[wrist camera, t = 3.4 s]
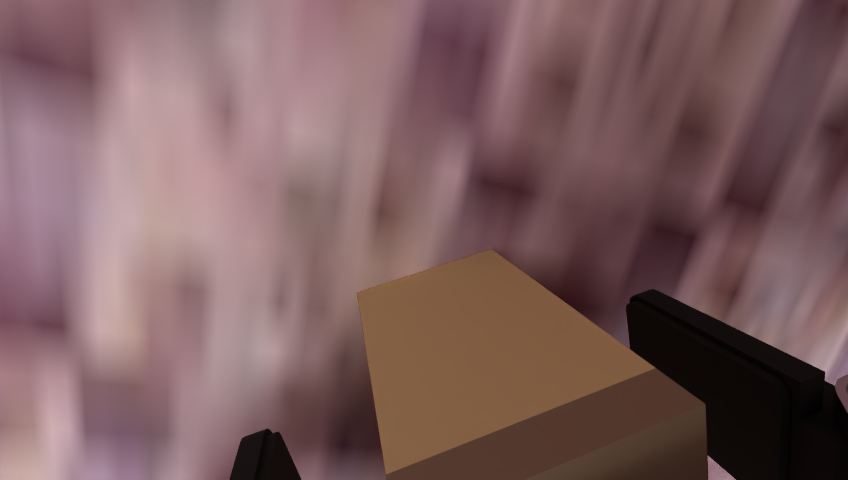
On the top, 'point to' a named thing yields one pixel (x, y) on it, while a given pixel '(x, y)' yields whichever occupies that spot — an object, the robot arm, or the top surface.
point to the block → (516, 385)
